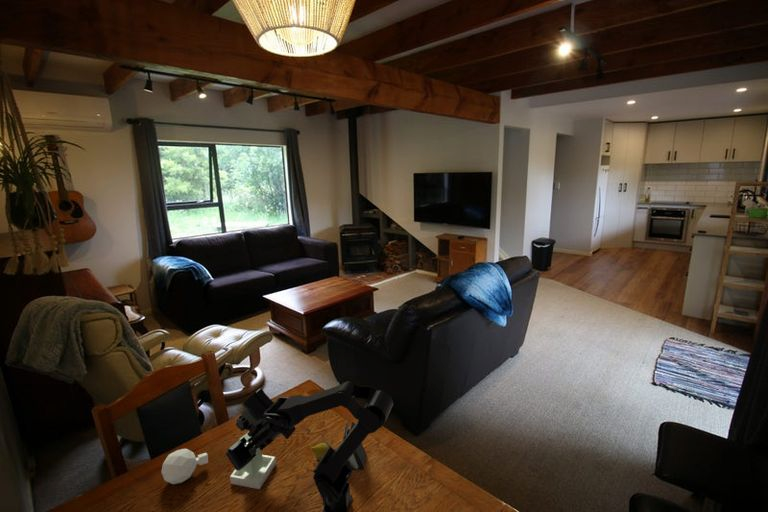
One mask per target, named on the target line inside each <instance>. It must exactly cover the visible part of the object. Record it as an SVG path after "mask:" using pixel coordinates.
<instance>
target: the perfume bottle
mask: <svg viewBox="0 0 768 512" xmlns="http://www.w3.org/2000/svg"><path fill="white" fill-rule="evenodd" d="M208 463H209V454H208V453H207V452H204V453H200V454H198V455H197V457H196V455H195V452H193V451H192V450H190V449H188V448H181V449H177V450H175V451H173V452H171V453H169V454H168V455H167V456H166V458H165V460H164V462H163V463H162V466H161V467H162V468H161V475H162V477H163V480H164V481H165V482H166V483H167V482H168V483H169V484H171V485H176V484H181V483H183V482H185V481H186V480H188V479H190V478H192V475H193V474H194V472H195V470H196V468H197V465H199V466H202V465H206V464H208Z"/></svg>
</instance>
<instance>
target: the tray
mask: <svg viewBox="0 0 768 512" xmlns="http://www.w3.org/2000/svg"><path fill="white" fill-rule="evenodd" d="M262 457H263V465H264V466H263V467H262V468H261V469H260V470H259V471H258V472H257V473H256V474H255V475H254V476H252V475H251V474H249V473H247V472H245V471H244V470H243V468H242V469H241V470H239V471H238V470H236V469H235V468H234V470H233V472H232V473H231V475H230V476H229V477H230V484H231V485H236V486H241V487H246V488H252V489H257V490H261V488H262V487H263V485H264V484H265V482H266V480H267V478H268V477H269V476H270V475H271V472H272V471H273V470H274V468H275V467H276V466H277V461H276V460H277V459H276V456H272V455H266V454H262Z"/></svg>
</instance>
